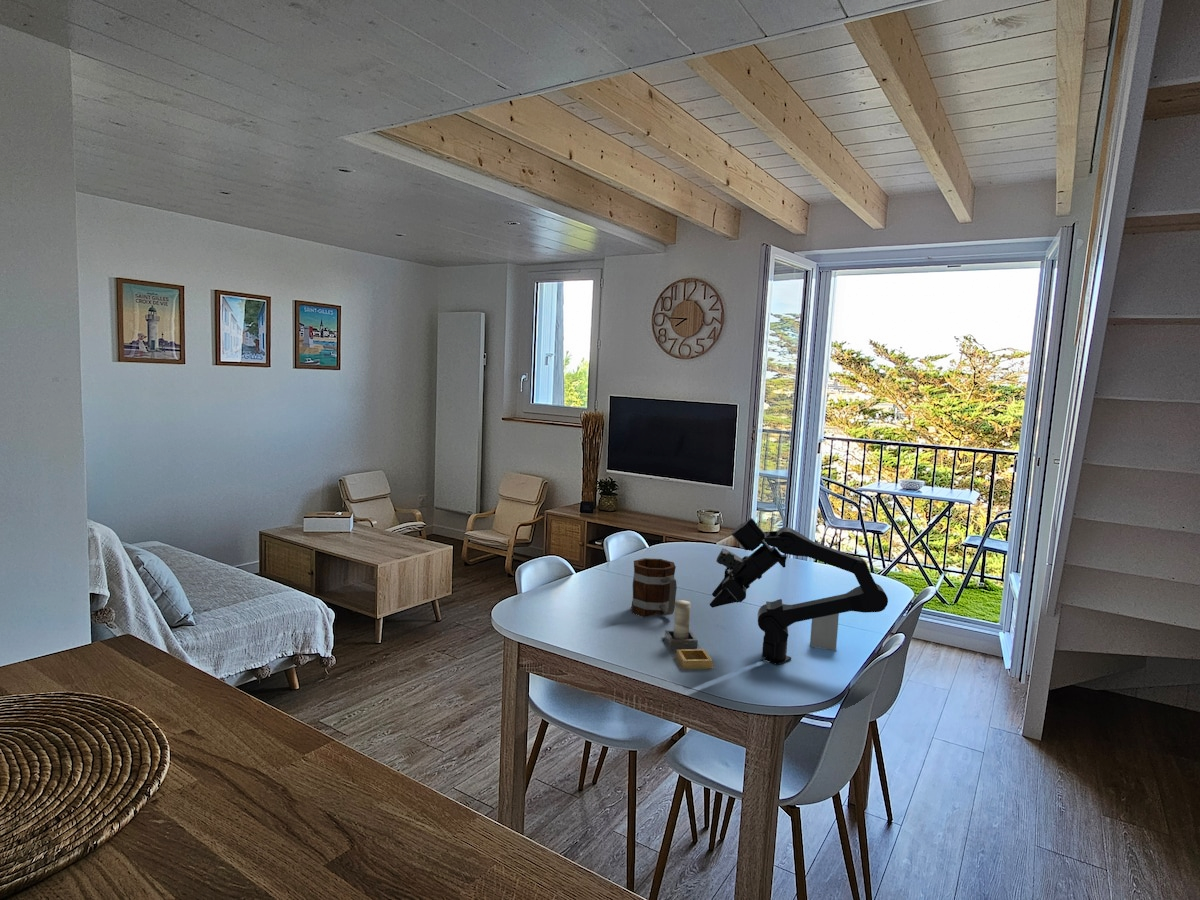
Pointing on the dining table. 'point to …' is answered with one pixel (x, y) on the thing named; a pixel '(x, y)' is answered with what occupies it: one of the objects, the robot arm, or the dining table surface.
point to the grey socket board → (687, 652)
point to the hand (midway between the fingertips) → (711, 600)
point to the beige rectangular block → (824, 632)
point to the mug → (653, 587)
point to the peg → (681, 619)
